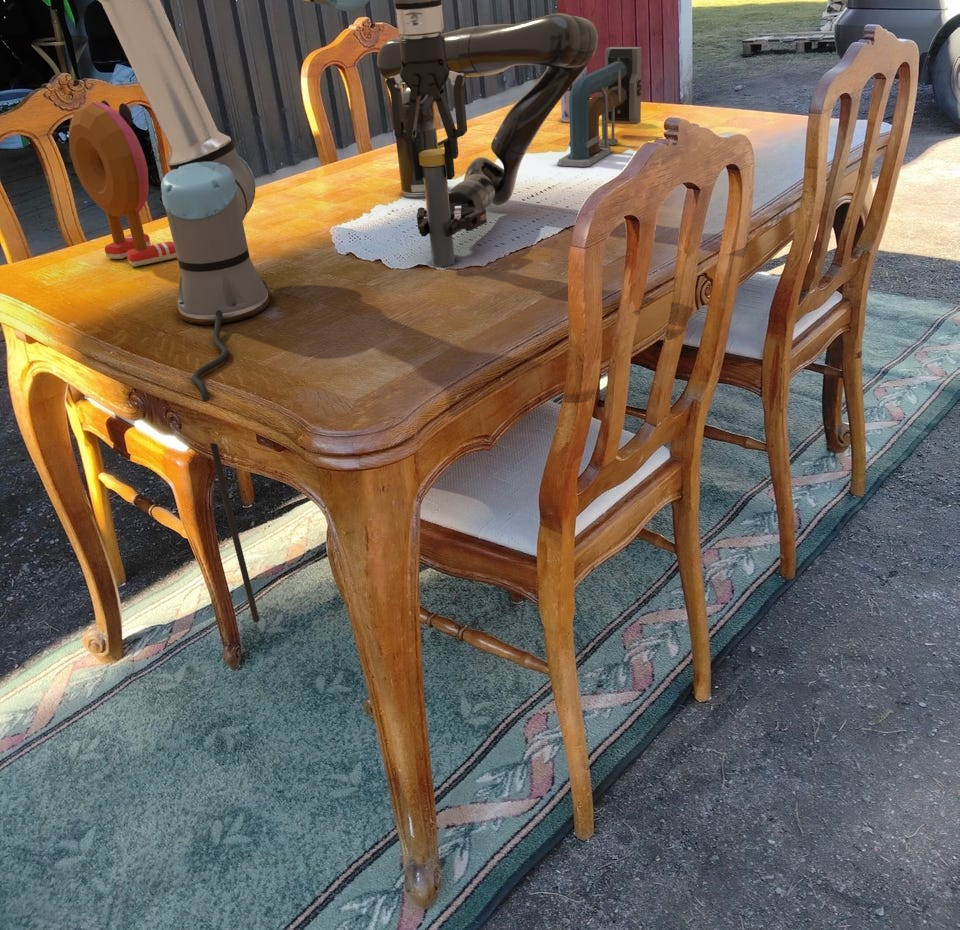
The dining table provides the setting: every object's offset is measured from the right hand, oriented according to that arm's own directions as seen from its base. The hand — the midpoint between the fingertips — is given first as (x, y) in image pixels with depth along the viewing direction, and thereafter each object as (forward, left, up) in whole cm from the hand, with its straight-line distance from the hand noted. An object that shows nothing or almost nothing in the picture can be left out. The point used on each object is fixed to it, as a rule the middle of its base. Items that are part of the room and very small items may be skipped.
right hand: (435, 231), depth 173 cm
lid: (-2, +1, +13) cm, 13 cm away
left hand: (-2, +1, +9) cm, 9 cm away
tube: (-2, +1, -7) cm, 7 cm away
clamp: (-76, +48, -7) cm, 90 cm away
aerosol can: (-114, +50, -7) cm, 125 cm away
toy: (-27, -58, -7) cm, 64 cm away
